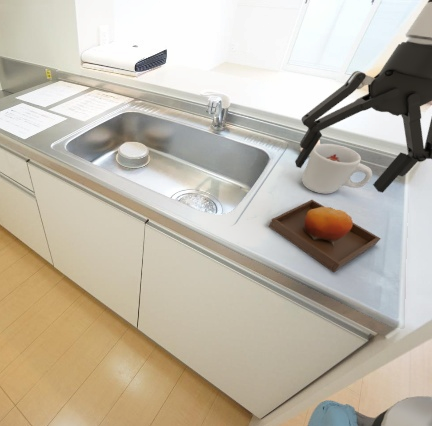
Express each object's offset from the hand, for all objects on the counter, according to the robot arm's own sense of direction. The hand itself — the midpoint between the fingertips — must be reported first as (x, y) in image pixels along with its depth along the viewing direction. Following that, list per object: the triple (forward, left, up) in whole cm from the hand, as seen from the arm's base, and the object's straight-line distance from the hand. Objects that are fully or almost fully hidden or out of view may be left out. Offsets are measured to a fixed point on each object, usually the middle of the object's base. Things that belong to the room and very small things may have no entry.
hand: (336, 176), depth 52 cm
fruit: (-2, -4, -16) cm, 16 cm away
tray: (-2, -4, -16) cm, 17 cm away
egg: (+22, -34, -16) cm, 44 cm away
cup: (+8, -22, -16) cm, 29 cm away
